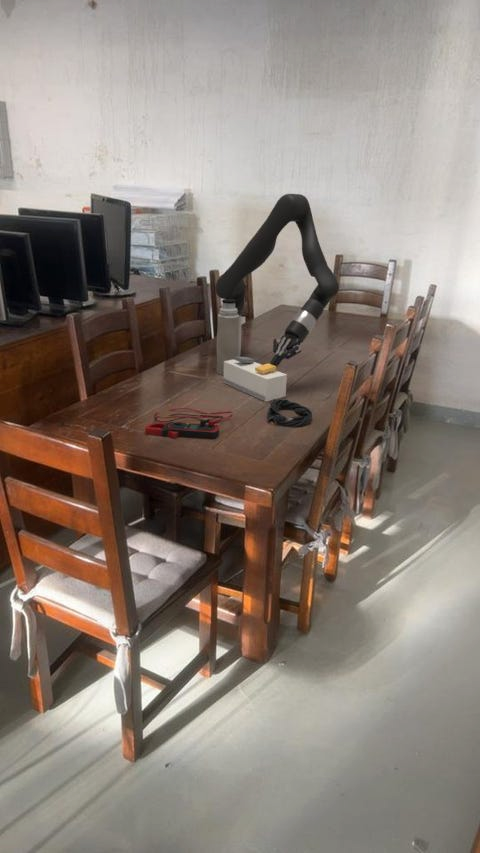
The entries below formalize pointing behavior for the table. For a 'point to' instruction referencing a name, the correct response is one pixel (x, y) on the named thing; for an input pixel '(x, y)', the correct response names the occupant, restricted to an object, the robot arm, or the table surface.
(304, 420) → the cable
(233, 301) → the thermos bottle
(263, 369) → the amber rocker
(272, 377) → the switch box
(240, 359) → the flat grey slab box
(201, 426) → the digital clamp meter
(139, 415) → the table surface
